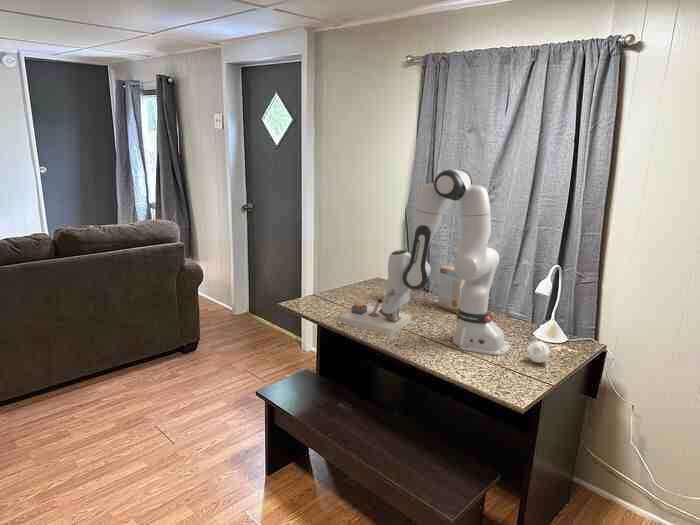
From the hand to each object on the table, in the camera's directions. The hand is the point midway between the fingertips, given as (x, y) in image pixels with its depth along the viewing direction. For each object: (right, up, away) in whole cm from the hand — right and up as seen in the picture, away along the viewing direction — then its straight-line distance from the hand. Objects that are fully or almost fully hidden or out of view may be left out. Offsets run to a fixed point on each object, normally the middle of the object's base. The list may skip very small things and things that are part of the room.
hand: (395, 317), depth 211 cm
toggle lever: (-9, +1, +6) cm, 11 cm away
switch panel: (-9, -3, +6) cm, 11 cm away
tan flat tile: (-3, +1, +1) cm, 3 cm away
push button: (-16, +3, +9) cm, 19 cm away
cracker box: (+30, +1, +24) cm, 39 cm away
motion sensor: (+51, -14, -29) cm, 60 cm away
